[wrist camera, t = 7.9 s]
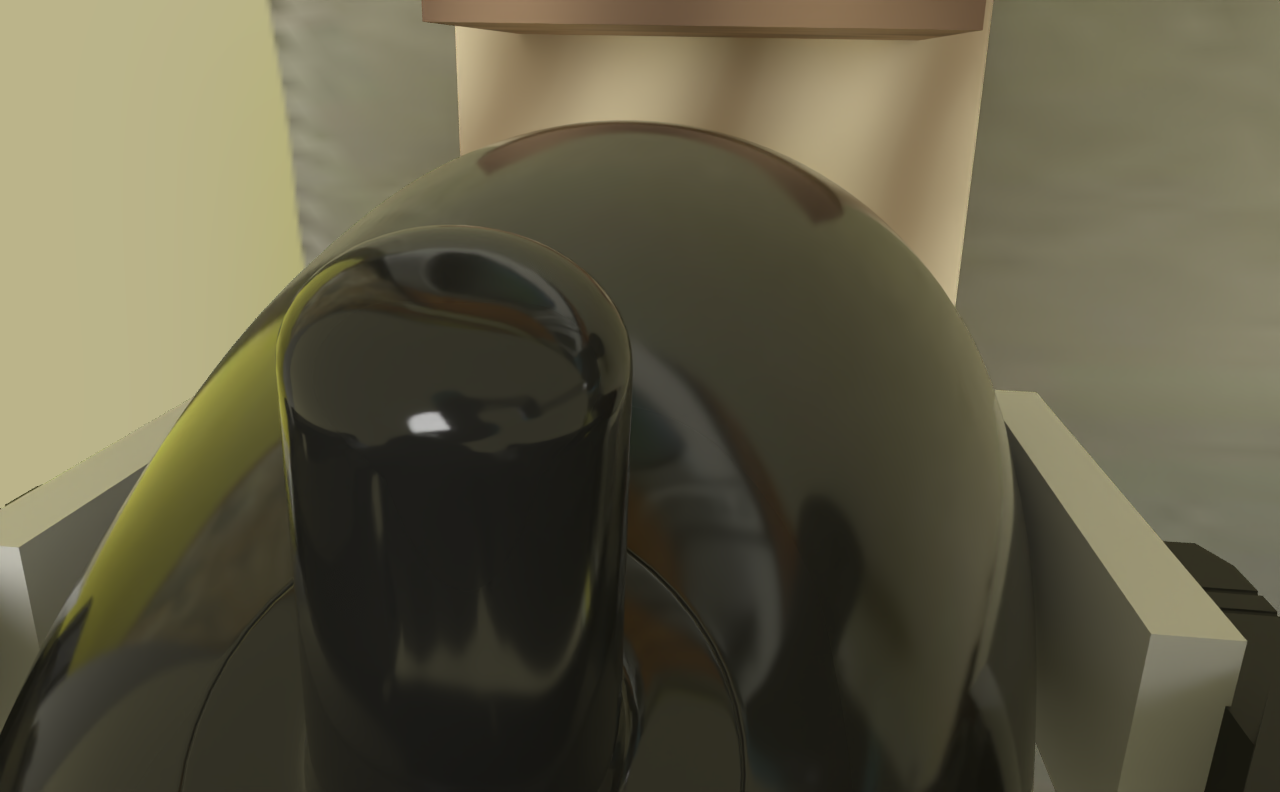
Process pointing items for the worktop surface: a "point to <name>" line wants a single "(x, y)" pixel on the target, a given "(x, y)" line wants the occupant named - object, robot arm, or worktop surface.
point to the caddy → (752, 87)
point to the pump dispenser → (568, 509)
